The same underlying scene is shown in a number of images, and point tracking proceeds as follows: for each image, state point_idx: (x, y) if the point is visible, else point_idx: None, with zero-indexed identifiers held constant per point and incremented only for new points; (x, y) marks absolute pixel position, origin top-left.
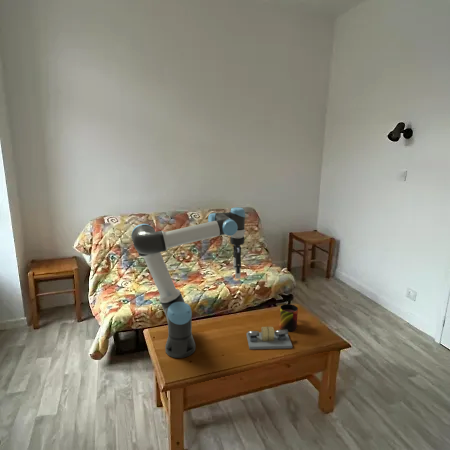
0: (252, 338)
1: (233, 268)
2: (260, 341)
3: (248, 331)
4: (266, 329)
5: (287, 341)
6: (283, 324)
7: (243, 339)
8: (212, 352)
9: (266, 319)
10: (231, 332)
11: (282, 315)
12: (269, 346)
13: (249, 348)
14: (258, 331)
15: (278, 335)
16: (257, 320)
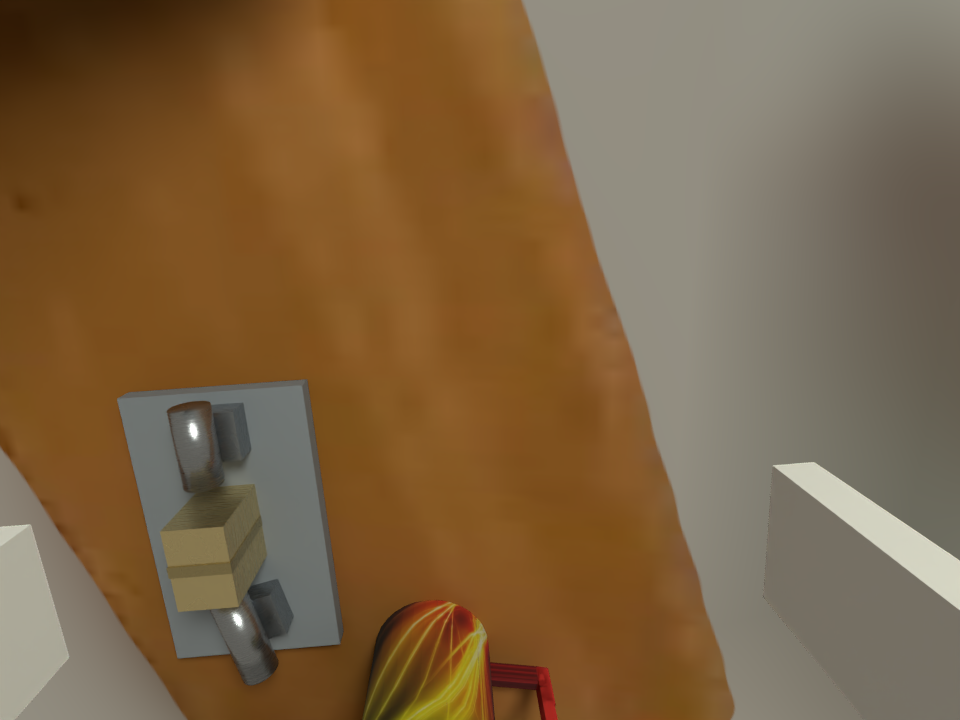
0: (170, 430)
1: (786, 477)
2: None
3: (181, 415)
4: (188, 558)
5: (221, 637)
6: (385, 649)
7: (247, 355)
8: (37, 118)
9: (532, 526)
10: (334, 267)
11: (387, 696)
12: (148, 526)
13: (125, 394)
14: (194, 491)
15: None
16: (517, 465)
